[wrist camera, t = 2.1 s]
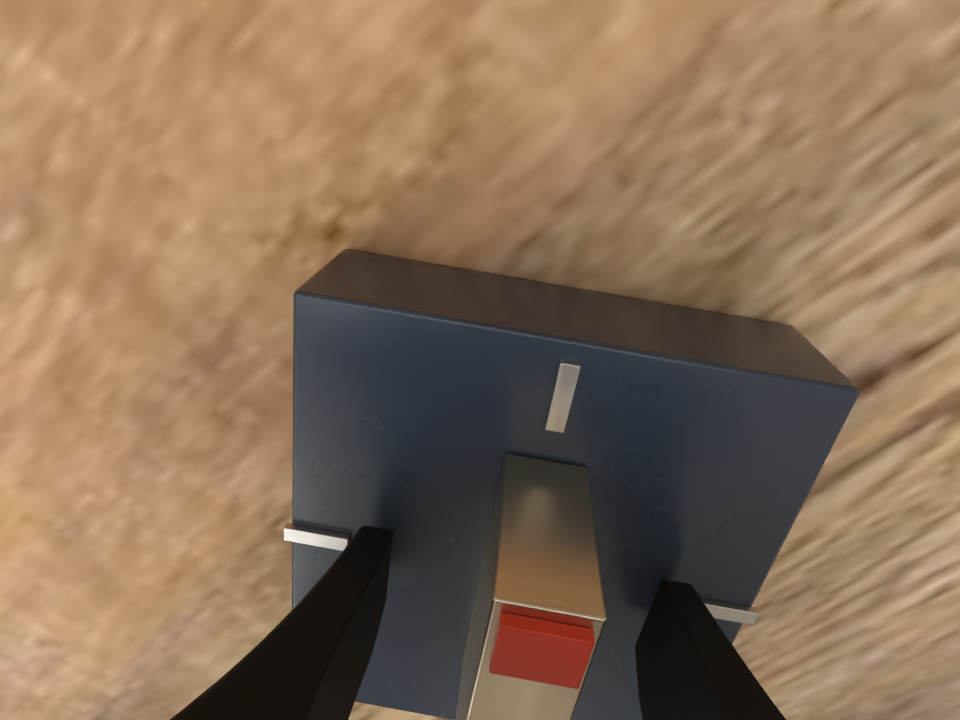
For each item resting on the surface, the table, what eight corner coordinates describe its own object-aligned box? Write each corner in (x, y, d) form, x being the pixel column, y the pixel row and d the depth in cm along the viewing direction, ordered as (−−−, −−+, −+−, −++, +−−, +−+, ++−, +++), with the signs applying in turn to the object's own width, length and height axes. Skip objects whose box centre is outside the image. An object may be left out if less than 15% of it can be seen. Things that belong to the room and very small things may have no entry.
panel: (655, 657, 17) (678, 769, 15) (324, 597, 18) (283, 696, 15) (797, 325, 13) (874, 395, 10) (339, 246, 13) (282, 292, 10)
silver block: (529, 670, 14) (527, 863, 10) (463, 658, 14) (438, 845, 10) (588, 466, 11) (610, 635, 8) (505, 452, 11) (491, 613, 8)
